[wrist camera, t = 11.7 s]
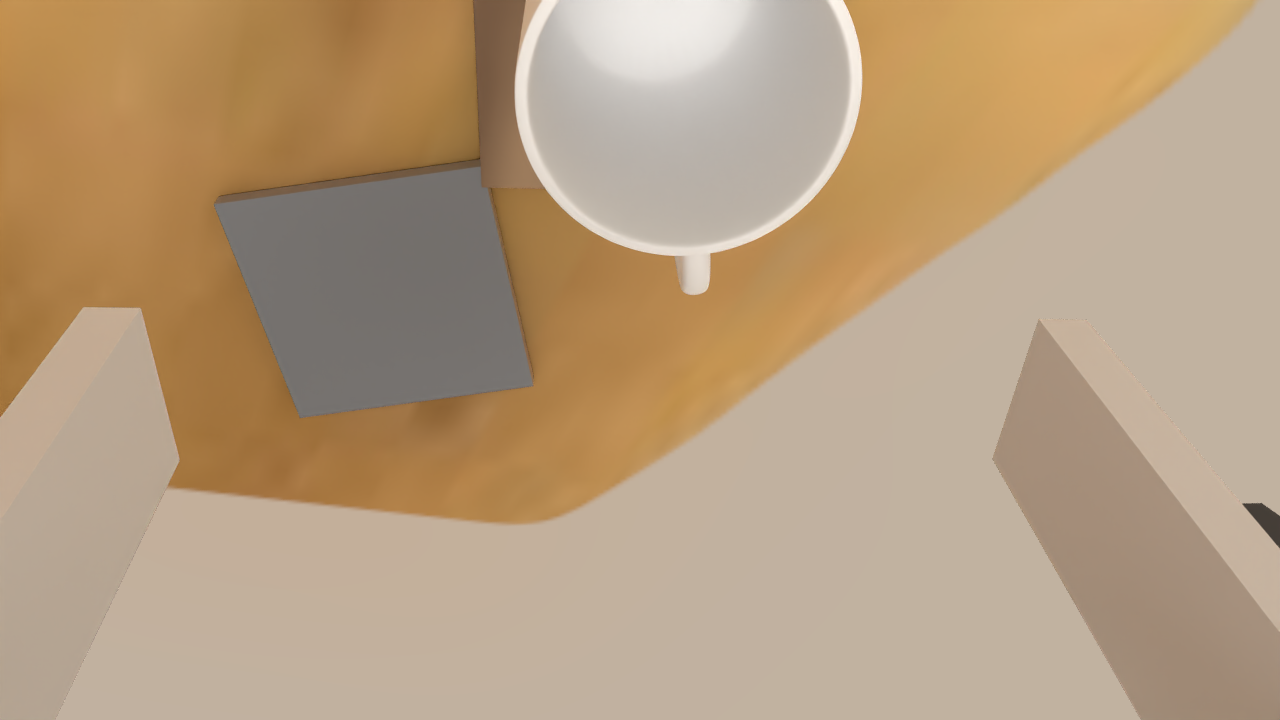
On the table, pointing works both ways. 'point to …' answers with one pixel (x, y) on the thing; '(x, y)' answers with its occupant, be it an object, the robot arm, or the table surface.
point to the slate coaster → (381, 287)
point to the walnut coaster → (500, 95)
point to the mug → (686, 116)
